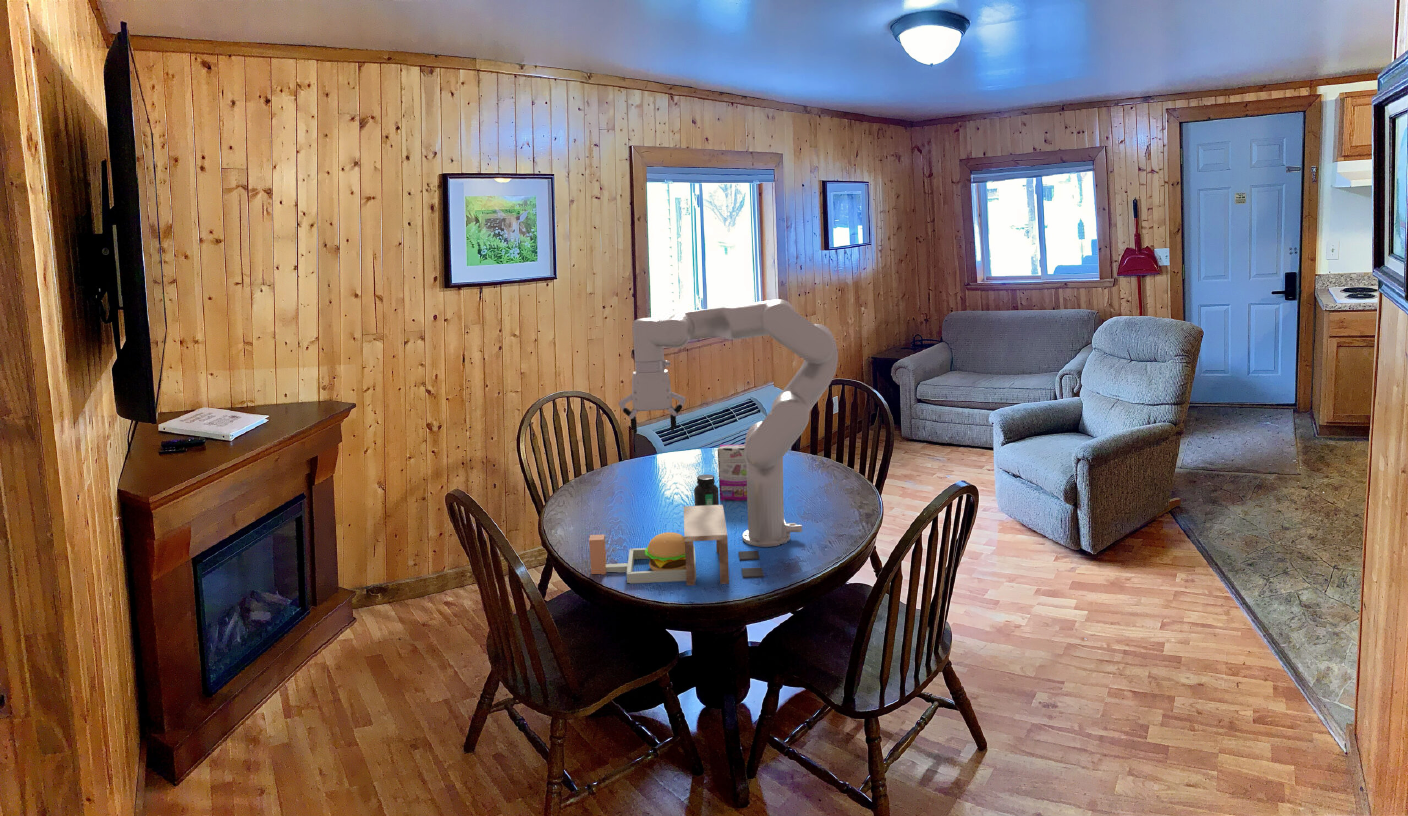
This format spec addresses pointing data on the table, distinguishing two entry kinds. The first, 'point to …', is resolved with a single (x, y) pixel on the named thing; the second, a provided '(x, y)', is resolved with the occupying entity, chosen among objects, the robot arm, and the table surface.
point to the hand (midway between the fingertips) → (654, 431)
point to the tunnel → (705, 537)
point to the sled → (630, 564)
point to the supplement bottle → (706, 491)
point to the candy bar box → (732, 473)
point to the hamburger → (667, 552)
